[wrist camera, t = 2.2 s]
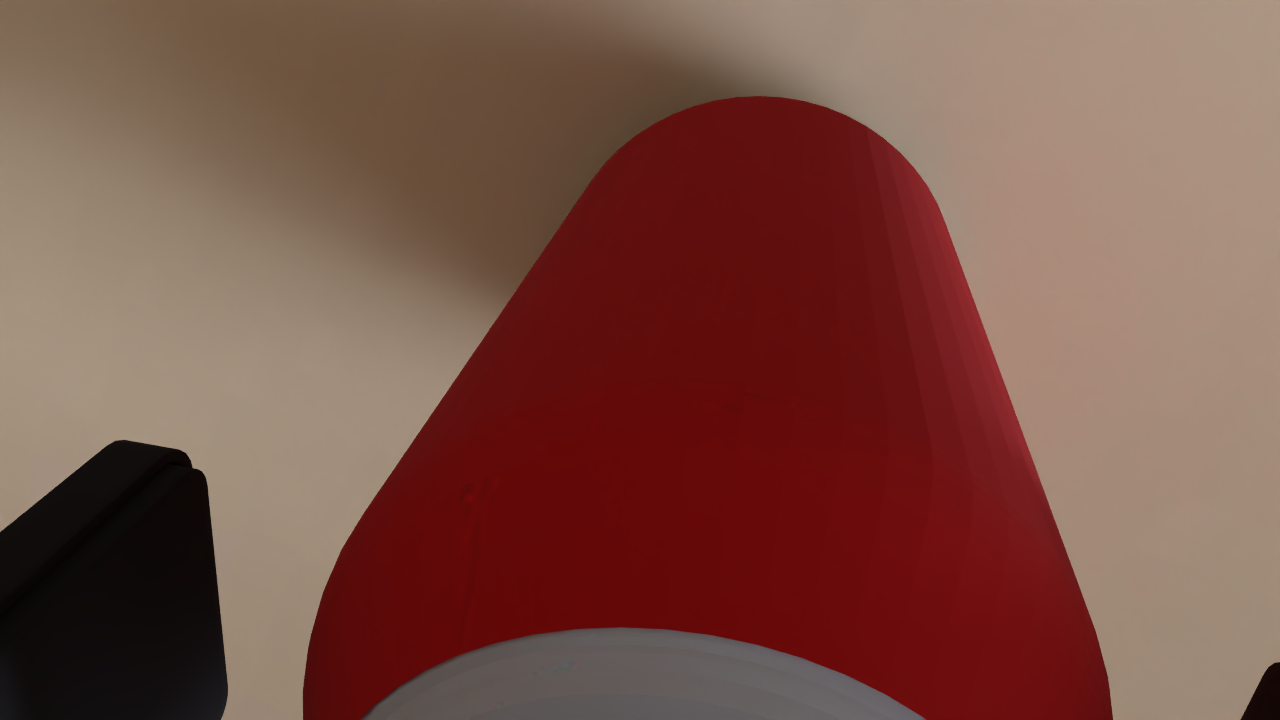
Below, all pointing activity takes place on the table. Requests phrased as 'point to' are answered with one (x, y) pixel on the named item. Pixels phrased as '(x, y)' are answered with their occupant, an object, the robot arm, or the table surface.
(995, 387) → the beverage can
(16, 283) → the table surface
